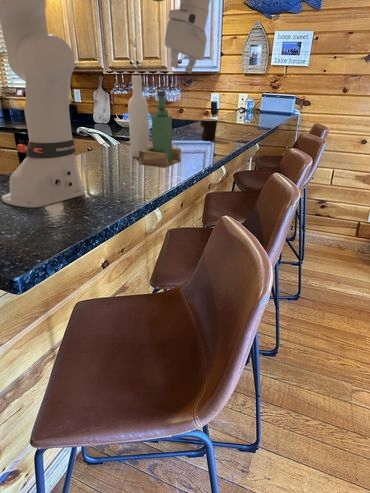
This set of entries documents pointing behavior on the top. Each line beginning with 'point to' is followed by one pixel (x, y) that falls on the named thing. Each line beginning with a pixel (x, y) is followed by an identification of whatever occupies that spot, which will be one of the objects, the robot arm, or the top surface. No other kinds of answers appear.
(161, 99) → the green bottle
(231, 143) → the top surface
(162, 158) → the oak rest
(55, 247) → the top surface
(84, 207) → the top surface
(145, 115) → the bottle
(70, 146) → the robot arm
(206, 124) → the coffee mug
